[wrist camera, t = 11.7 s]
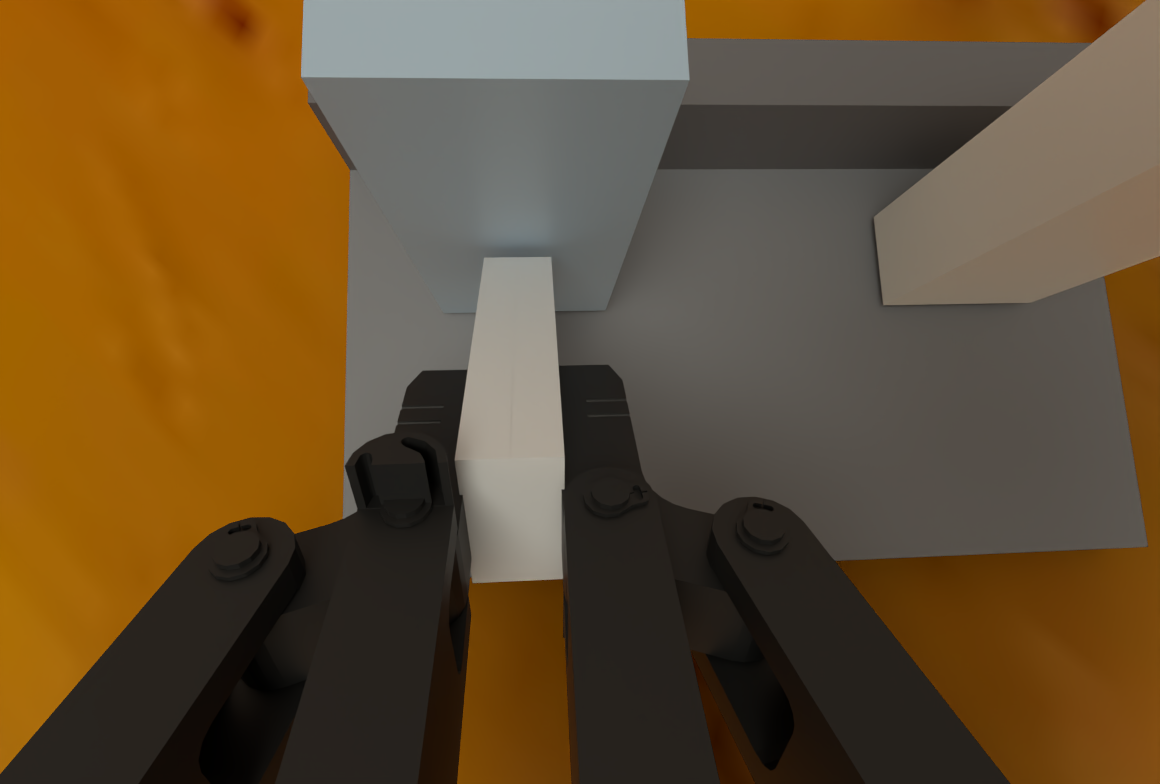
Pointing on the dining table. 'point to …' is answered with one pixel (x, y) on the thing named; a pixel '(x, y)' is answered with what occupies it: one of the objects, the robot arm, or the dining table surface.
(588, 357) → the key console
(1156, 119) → the cream key
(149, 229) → the dining table surface
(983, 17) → the dining table surface
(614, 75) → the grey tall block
